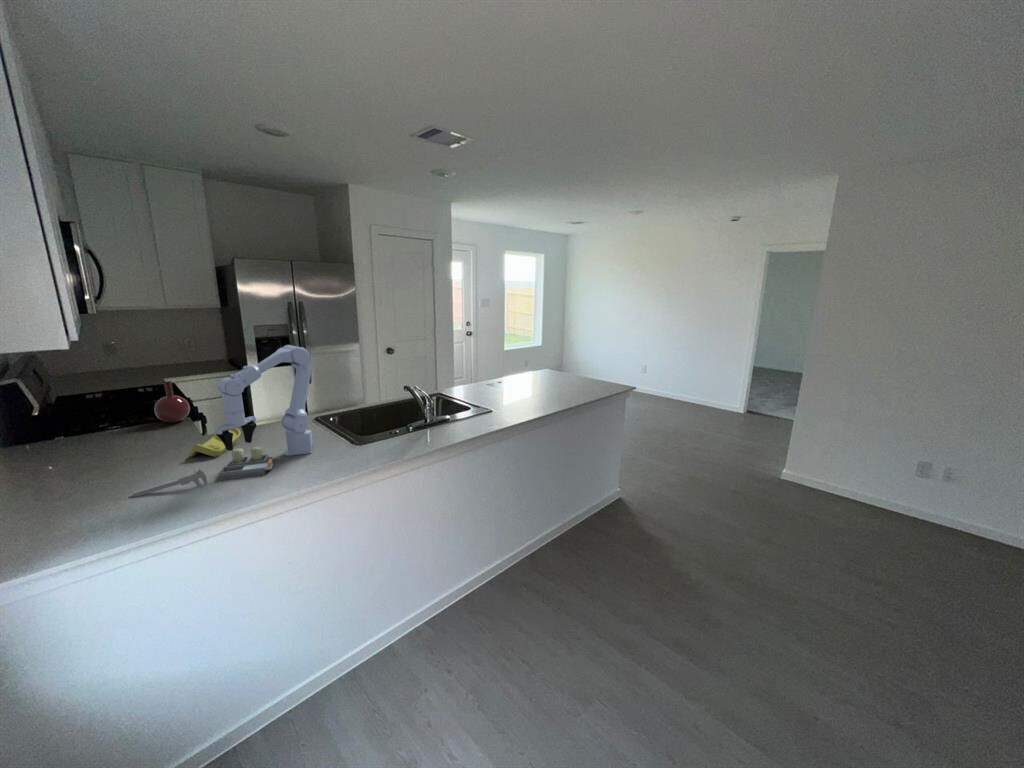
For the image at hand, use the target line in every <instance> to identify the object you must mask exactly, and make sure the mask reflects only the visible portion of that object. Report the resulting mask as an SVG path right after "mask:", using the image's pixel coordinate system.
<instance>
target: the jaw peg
mask: <svg viewBox="0 0 1024 768" xmlns="http://www.w3.org/2000/svg"><path fill="white" fill-rule="evenodd" d="M231 455H232V458H233V463H241V462H245V459H244V457H245V454H244V448H242V447H241V448H240V447H239V448H238V447H237V448H233V450H232V451H231Z"/></svg>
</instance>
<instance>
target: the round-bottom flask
mask: <svg viewBox="0 0 1024 768" xmlns="http://www.w3.org/2000/svg"><path fill="white" fill-rule="evenodd" d="M163 385H164V389H165V394H166V396H163V397H161V398H160V399H158V400H157V401H156V402H155V405H154V410H153V411H154V414H155V416H156V417H157V418H158V419H159V420H161V421H162V422H166V423H178V422H180V421H182V420H184V419H185V418H187V417H188V415H189V414H190V411H191V407H190V404H189V402H188V400H187V399H185V397H182V396H179V395H174V391H173V381H171V380H170V381H163Z"/></svg>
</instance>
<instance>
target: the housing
mask: <svg viewBox="0 0 1024 768" xmlns="http://www.w3.org/2000/svg"><path fill="white" fill-rule="evenodd" d="M250 454H251V455H249V456H247V455H246V456H244V459H245V462H241V463H233V457H232V458H231V459H230V460H229V462H228V463H227V465H226V466H223V467H222V468H221V469H220V471H219V472H218V474H219V476H218V479H219V480H227V479H236V478H237V479H238V478H243V477H244V478H245V477H247V478H248V477H254V476H262V475H263V476H264V475H266V473H267V471H268V470H264V468H256V469H247V470H242V469H243V468H244V466H246V465H255V464H265V463H268V461H269V459H272V460H273V456H269V454H263V447H262V446H253V447H251V448H250Z"/></svg>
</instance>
